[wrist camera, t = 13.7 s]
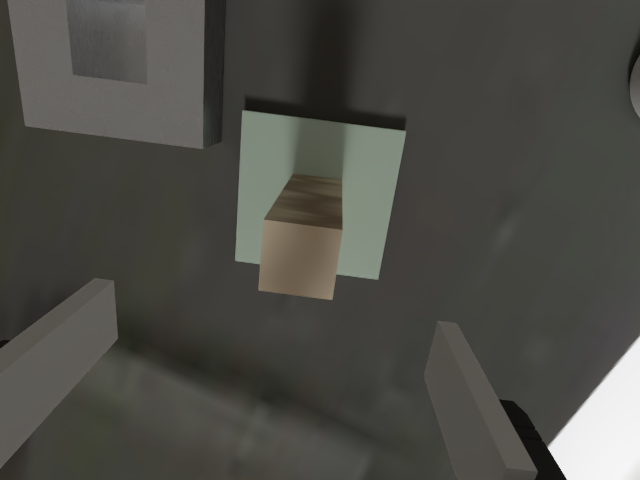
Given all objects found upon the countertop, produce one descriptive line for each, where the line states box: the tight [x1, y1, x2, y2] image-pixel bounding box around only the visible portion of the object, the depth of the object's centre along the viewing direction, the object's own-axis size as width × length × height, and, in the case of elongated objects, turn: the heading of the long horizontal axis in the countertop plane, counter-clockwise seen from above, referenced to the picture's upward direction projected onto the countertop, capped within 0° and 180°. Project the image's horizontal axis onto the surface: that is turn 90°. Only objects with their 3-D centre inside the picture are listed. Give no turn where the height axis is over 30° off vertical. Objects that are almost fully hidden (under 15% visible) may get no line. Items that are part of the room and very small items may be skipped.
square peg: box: [258, 173, 343, 300], centre depth 29 cm, size 4×4×14 cm
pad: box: [235, 110, 406, 280], centre depth 36 cm, size 14×14×1 cm
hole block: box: [8, 0, 226, 149], centre depth 30 cm, size 14×14×5 cm
